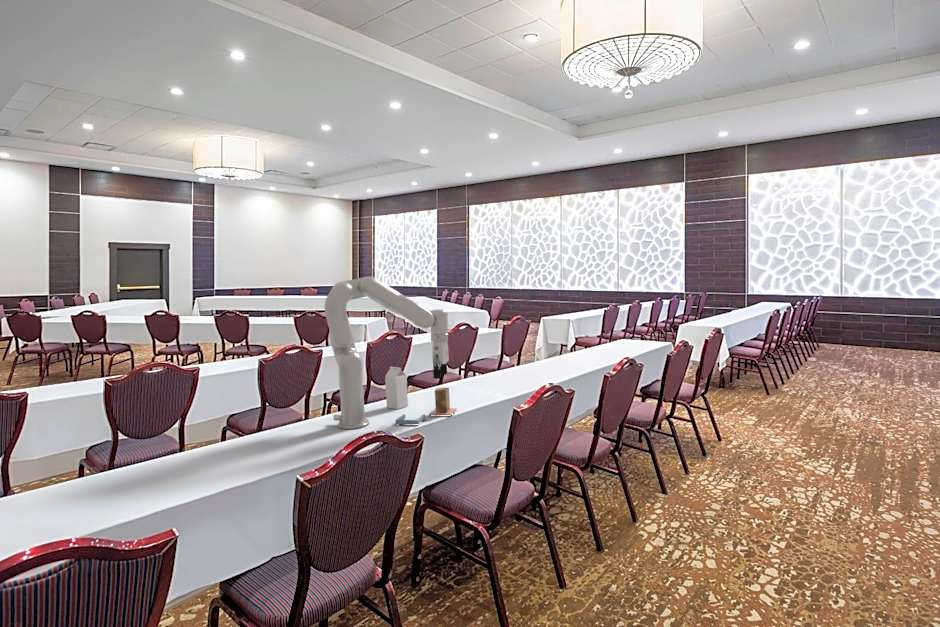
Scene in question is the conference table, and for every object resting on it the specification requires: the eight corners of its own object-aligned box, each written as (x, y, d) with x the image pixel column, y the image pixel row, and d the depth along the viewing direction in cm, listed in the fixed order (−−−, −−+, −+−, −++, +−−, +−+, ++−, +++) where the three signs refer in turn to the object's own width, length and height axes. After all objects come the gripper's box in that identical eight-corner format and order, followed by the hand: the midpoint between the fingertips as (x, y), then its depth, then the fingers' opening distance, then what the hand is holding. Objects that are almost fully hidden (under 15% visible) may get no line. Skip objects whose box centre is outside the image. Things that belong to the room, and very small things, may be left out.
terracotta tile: (429, 416, 235) (428, 413, 235) (435, 410, 245) (435, 408, 244) (451, 416, 233) (451, 414, 232) (456, 410, 242) (456, 408, 242)
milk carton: (397, 409, 248) (395, 369, 247) (386, 407, 252) (384, 367, 251) (408, 406, 254) (406, 366, 252) (397, 404, 258) (395, 365, 257)
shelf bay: (395, 424, 224) (395, 420, 223) (403, 418, 232) (403, 414, 232) (418, 425, 221) (418, 420, 221) (425, 419, 230) (425, 414, 230)
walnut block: (435, 412, 237) (434, 390, 236) (439, 409, 241) (438, 387, 241) (446, 412, 235) (445, 390, 235) (449, 409, 240) (448, 387, 239)
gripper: (442, 340, 227) (443, 380, 228) (453, 335, 243) (453, 373, 245) (425, 340, 228) (426, 380, 230) (437, 335, 245) (437, 372, 246)
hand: (440, 376), depth 237 cm, fingers open, 9 cm apart
